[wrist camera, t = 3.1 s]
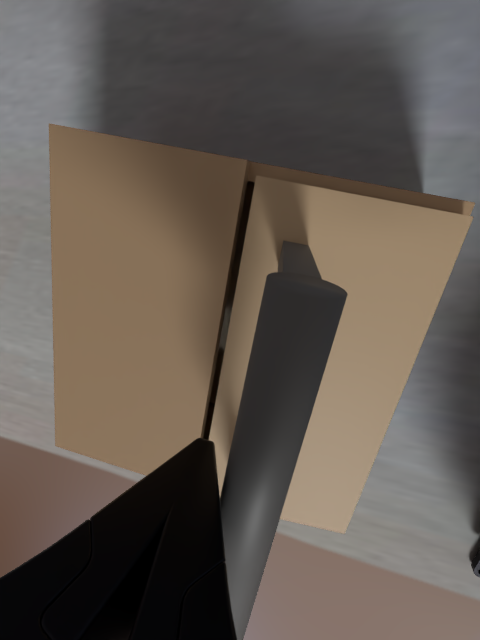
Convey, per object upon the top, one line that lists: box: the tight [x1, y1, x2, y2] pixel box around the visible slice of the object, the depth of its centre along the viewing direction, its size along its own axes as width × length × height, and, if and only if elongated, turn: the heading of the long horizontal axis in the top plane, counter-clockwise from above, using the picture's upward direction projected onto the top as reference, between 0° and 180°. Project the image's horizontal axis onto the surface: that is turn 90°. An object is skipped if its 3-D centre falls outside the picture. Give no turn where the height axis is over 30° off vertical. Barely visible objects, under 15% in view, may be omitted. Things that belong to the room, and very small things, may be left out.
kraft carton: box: [49, 124, 475, 476], centre depth 17 cm, size 14×14×7 cm
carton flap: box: [209, 176, 473, 640], centre depth 10 cm, size 6×13×7 cm, turn 170°
